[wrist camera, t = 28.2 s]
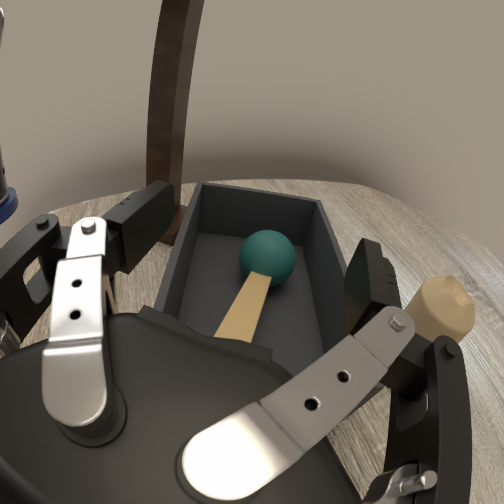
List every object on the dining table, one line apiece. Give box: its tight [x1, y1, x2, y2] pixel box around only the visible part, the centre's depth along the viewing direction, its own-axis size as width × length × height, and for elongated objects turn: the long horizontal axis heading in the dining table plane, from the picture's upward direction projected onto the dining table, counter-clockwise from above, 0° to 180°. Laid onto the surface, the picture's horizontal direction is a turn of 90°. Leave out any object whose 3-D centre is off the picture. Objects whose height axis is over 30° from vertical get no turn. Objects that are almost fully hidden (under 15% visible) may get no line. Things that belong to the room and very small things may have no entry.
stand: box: [146, 0, 204, 245], centre depth 23 cm, size 7×7×32 cm
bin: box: [153, 181, 384, 421], centre depth 23 cm, size 13×21×7 cm, turn 0°
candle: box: [404, 275, 475, 344], centre depth 19 cm, size 6×6×10 cm
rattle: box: [214, 230, 296, 343], centre depth 20 cm, size 5×17×5 cm, turn 165°
